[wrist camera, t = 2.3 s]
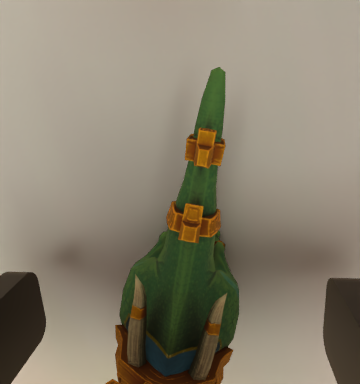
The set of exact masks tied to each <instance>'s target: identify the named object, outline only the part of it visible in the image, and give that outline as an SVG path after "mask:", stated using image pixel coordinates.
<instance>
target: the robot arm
mask: <svg viewBox="0 0 360 384" xmlns="http://www.w3.org/2000/svg"><path fill="white" fill-rule="evenodd" d="M45 327H46V317H45V312H44V307H43V302H42V297H41V292H40V287H39V282H38V278H37V276H36V275H35V274H34V273H32V272H5V273H3V274H2V275H1V276H0V384H11V383H12V381H13V380H14V378H15V377H16V376H17V374H18V373H19V371H20V370H21V369H22V367H23V366H24V364H25V363H26V361H27V360H28V359H29V357H30V356H31V354H32V353H33V352H34V350H35V349H36V347H37V346H38V345H39V343H40V342H41V340H42V338H43V335H44V332H45ZM323 338H324V346H325V351H326V354H327V357H328V360H329V363H330V365H331V368H332V371H333V373H334V376H335V378H336V381H337V384H360V279H352V278H330V279H329V280H328V282H327V289H326V301H325V313H324V325H323Z"/></svg>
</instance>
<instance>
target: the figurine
mask: <svg viewBox="0 0 360 384" xmlns="http://www.w3.org/2000/svg"><path fill="white" fill-rule="evenodd" d="M224 107H225V72H224V71H223V70H222V69H221V68H220V67H218V68H216V69H213V70H212V71H211V74H210V76H209V79H208V82H207V85H206V88H205V91H204V94H203V97H202V101H201V105H200V109H199V113H198V117H197V121H196V125H195V130H194V134H191V135H190V136H189V137H188V138H187V142H186V153H185V160H189V161H188V165H187V169H186V173H185V177H184V180H183V183H182V186H181V189H180V192H179V195H178V197H177V200H176V201H172V203H171V206H170V209H169V211H168V214H167V217H166V219H167V224H168V231H167V232H163V233H162V234H161V235H160V237H159V241H158V243H157V244H156V245H155V246H154V248H153V249H152V250H151V251H150V252H149V253H148V254H147V255H146V256H145V257H143V258H142V259H141V260H139V261H138V262H136V263H135V264H134V266H133V267H132V268H131V270H130V273H129V276H128V278H127V281H126V284H125V286H124V289H123V294H122V301H121V308H120V319H121V323H122V325H115V327H116V339H117V342H118V347H117V350H116V354H115V357H116V367H117V377H118V382H119V383H118V382H117V381H115V380H113V379H112V380H110V381H109V382H107V383H106V384H220V383H221V381H222V379H223V367H224V366H225V365H226V364H227V363H228V362H229V360H230V357H231V354H232V352H233V350H232V349H230V348H228V345H229V344H230V343H231V341H232V340H233V337H234V333H235V329H236V325H237V320H238V315H239V289H238V285H237V282H236V280H235V279H234V277H233V275H232V274H231V272H230V269H229V267H228V264H227V262H226V259H225V255H224V250H225V244H224V243H223V242H222V241H220V240H219V236H220V231H218V230H219V229H220V227H221V223H220V210H219V209H216V182H217V170H218V166H221V162H222V158H223V154H224V149H225V140H224V139H222V138H221V137H222V130H223V118H224Z"/></svg>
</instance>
